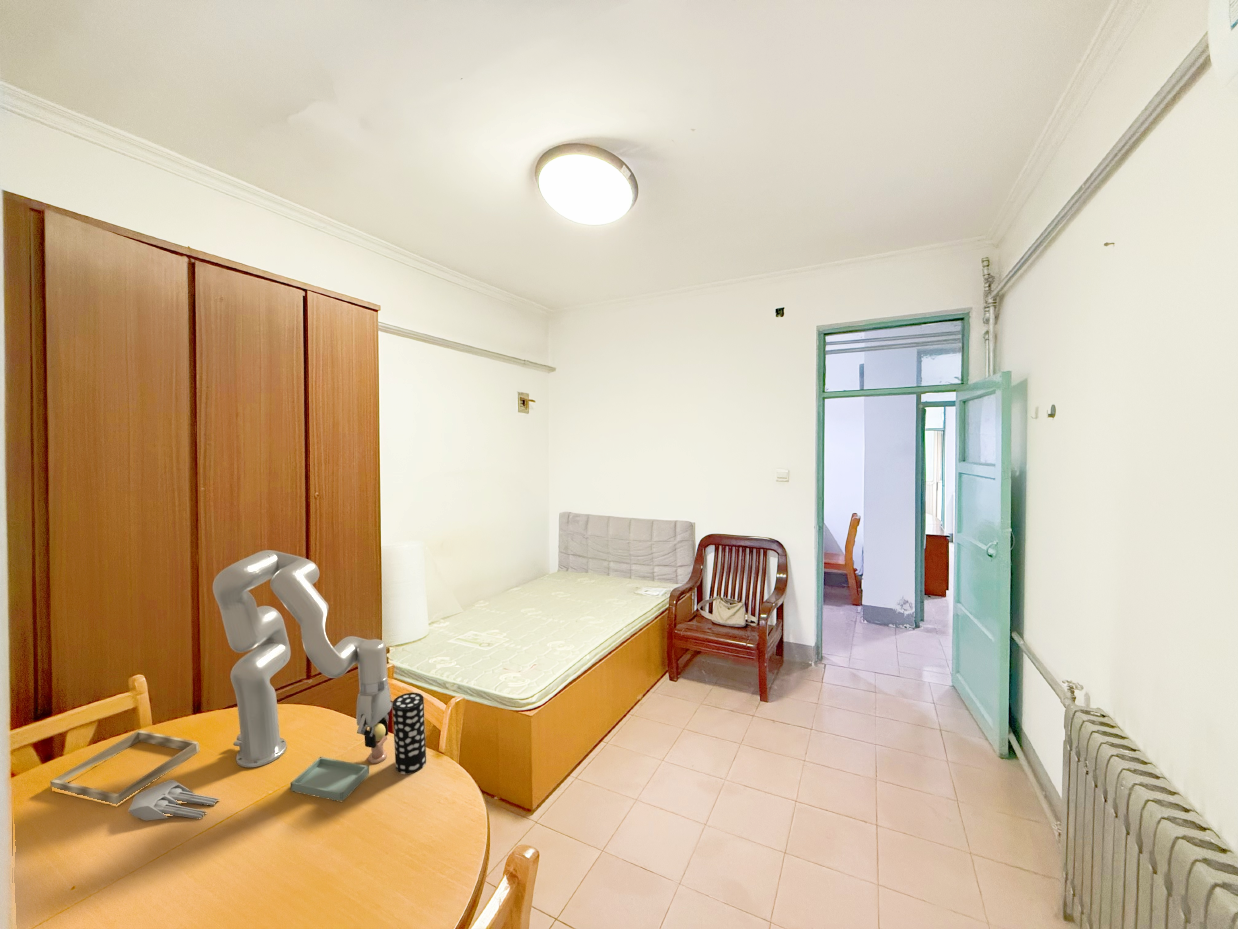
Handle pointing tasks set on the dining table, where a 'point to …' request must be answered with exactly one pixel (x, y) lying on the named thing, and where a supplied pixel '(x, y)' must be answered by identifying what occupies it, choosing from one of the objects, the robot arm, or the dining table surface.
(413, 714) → the white-spotted black cylinder
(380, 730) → the ball
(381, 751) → the egg cup
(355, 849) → the dining table surface
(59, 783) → the frame
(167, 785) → the turret
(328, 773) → the tray
